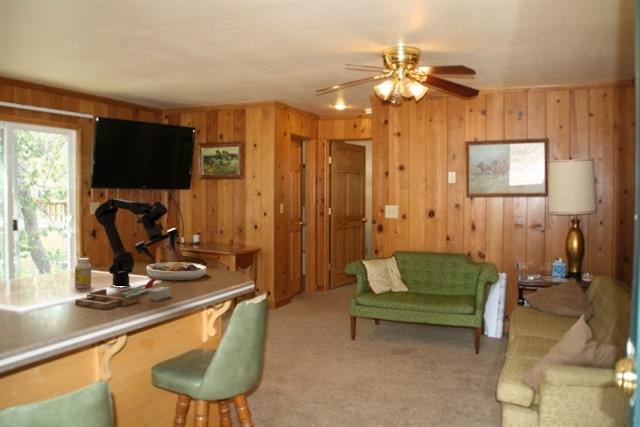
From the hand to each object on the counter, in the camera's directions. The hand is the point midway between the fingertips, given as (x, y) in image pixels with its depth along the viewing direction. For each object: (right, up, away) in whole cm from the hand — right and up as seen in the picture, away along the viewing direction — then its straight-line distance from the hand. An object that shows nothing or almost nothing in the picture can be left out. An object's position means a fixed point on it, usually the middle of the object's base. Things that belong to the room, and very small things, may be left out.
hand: (165, 257), depth 222 cm
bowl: (-9, -14, +48) cm, 51 cm away
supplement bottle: (-40, -14, +10) cm, 44 cm away
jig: (-18, -16, -16) cm, 30 cm away
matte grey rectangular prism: (-1, -17, -3) cm, 17 cm away
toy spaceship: (-12, -16, +5) cm, 21 cm away
